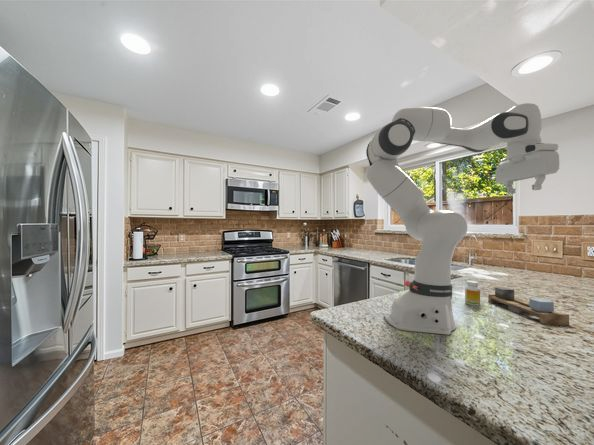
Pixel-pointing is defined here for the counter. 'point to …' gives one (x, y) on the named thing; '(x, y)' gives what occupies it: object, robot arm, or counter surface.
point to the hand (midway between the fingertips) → (523, 191)
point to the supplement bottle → (472, 293)
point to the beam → (525, 307)
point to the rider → (541, 305)
